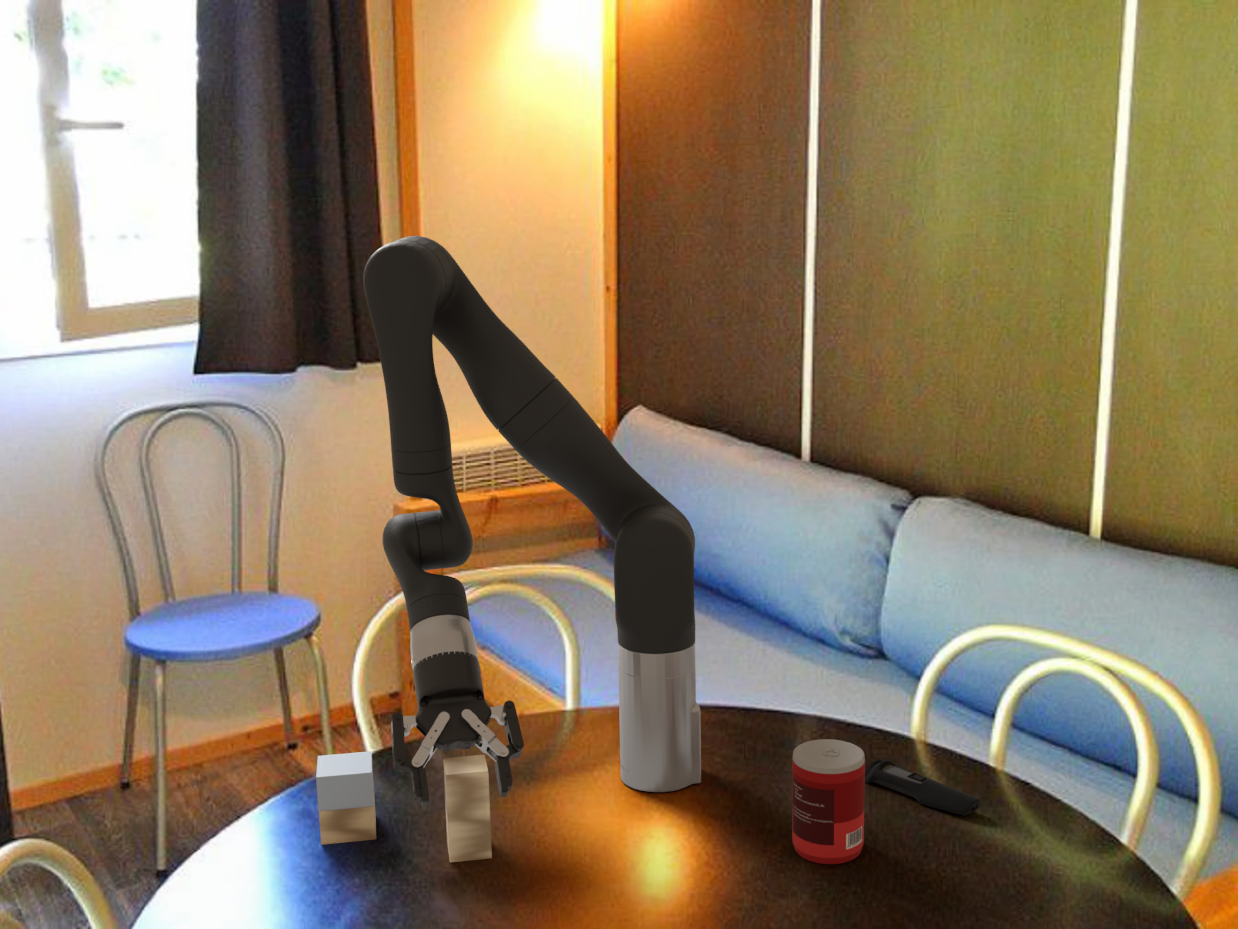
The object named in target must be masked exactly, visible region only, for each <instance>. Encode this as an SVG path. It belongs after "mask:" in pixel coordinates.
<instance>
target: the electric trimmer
mask: <svg viewBox="0 0 1238 929" xmlns="http://www.w3.org/2000/svg"><path fill="white" fill-rule="evenodd" d="M873 783H874V784H877V785H879V786H882V787H885V788H888V789H891V790H893V791H896V792H898V793H901V794H904V795H906V796H908V797H912V798H915V799H916V801H917V803H918V804H921V805H923V806H927V807H930V808H934V809H938V810H942V811H946V812H949V813H953V814H956V815H961V816H965V817H966V816H967V815H970V814H973V813H974V812H976V811H977V810H978V809H979V807H980V804H981V803H980V802H981V801H980V798H978V797H975V796H973V795H971V794H968V793H965V792H964V791H960V790H958V789H957V788H953V787H951V786H948V785H946V784H943V783H941V782H939V781H937V780H934V779H932V778H929V777H926V776H924V775H921V774H919V773H916V772H914V771H912V770H911V771H910V770H909V769H906V768H903V767H901V766H899V765H897V764H894V763H893V762H892V761H891V760H890V759H889V760H888V759H884V760H882V759H881V758H879V759H877V760H874V761H872V763H871V764H869V766H868V767H867V769H865V784H867V785H868V784H873Z"/></svg>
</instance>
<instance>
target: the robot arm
mask: <svg viewBox="0 0 1238 929" xmlns="http://www.w3.org/2000/svg"><path fill="white" fill-rule="evenodd" d="M365 264H366V265H365V267H364V268H363V277H362V281H363V290H364V294H365V295H364V296H365V300H366V304H367V308H368V309H367V310H368V312H369V317H370V319H371V320H370V321H371V324H372V328H373V332H374V335H375V340H376V344H377V349H378V354H379V360H380V365H381V371H382V375H383V380H384V382H383V383H384V387H385V395H386V396H385V397H386V402H387V412H388V423H389V437H390V451H391V462H392V474H393V475H392V476H393V483H394V487H395V490H396V491H397V492H398V493H399V494H401V495H402V496H406V497H410V498H416V499H417V498H418V499H425V500H430V501H432V502H434V503H436V504H437V506H439V508H440V509H438V510H430V511H429V510H428V511H420V512H410V513H400V514H396V515H395V516H394V515H393V516H392V517H391V518H390V519H388V521H387V522H386V524H385V526H384V529H383V532H382V546H383V550H384V553H385V556H386V558H387V561H388V563H389V564H390V567H391V569H392V571H393V573H394V575H395V576H396V577H395V578H396V579H397V581H398V584H399V585H400V589H401V591H402V594H403V597H404V601H405V605H406V612H407V620H408V624H409V625H408V626H409V634H410V641H409V642H410V645H409V646H410V648H409V649H410V659H411V660H410V661H411V662H410V666H411V669H412V673H413V674H412V675H413V682H414V689H415V696H416V705H417V712H416V715H403V714H402V713H401V712H394V713H393V714H392V717H391V724H390V729H391V732H390V733H391V734H390V735H391V748H392V751H391V752H392V766H393V767H392V768H393V770H394V771H395V772H397V773H401V772H405V773H408V774H409V775H410V776H411V782H412V790H413V791H412V792H413V797H414V800H415V802H416V803H420V805H421V807H422V808H423V807H429V805H430V804H429V803H430V795H429V794H430V792H429V786H428V779H427V778H428V777H427V772H426V765H427V763H428V762H429V761H430V760H431V758H433V755H434V753H435V752H436V751H437V749H438V750H441V751H442V753H444V752H451V751H453V750H456V749H459V750H469V749H472V747H474V746H475V747H476V748H478V749H479V750H480V751H481V752H482V753H483V754H485V755H487V756H489V758H490V759H491V760H493V761H494V762H495V765H494V770H495V771H494V772H495V777H496V783H497V784H496V785H497V789H498V794H499V796H498V797H499V798H504V797H506V798H507V795H508V793H509V792H510V791H511V789H512V785H513V777H512V769H511V763H510V761H511V760H513V759H518V758H521V755H522V753H523V749H524V747H525V742H524V738H523V733H522V729H521V725H520V721H519V718H518V714H517V708H516V705H515V702H514V701H512V700H511V699H510V700H506V701H505V702H504V703H503V704H502V705H501V704H500V705H495V706H490V705H489V704H488V703H487V701H486V698H485V693H484V686H483V680H482V674H481V673H482V671H481V667H480V662H479V655H478V654H479V653H478V648H477V642H476V637H475V635H474V631H473V629H472V624H471V620H470V619H471V618H470V612H469V605H468V600H467V598H468V597H467V593H466V589H465V587H464V585H463V583H462V582H461V581H460V580H459V579H457V578H456V577H453V576H449V575H445V574H444V575H443V574H437V573H431V572H428V571H431V570H441V569H449V568H457V567H461V566H462V565H464V564H465V563H466V562H467V561H468V560H469V558H470V555H471V554H472V551H473V546H474V545H473V544H474V543H473V542H474V540H473V534H472V532H471V528H470V525H469V523H468V520H467V518H466V515H465V513H464V510H463V507H462V505H461V502H460V499H459V495H458V492H457V489H456V488H457V487H456V484H455V477H454V469H453V454H452V442H451V440H452V438H451V430H450V423H449V417H448V414H447V409H446V405H445V402H444V398H443V395H442V392H441V388H440V384H439V381H438V378H437V373H436V369H435V368H436V367H435V360H434V350H433V347H434V346H433V337H435V338H436V339H437V340H438V341H439V343H441V344H442V346H443V347H444V348H445V349H446V350H447V351H448V352H449V354H450V355H451V357H452V358H453V359H454V360H455V362H456V363H457V365H458V366H459V368H460V370H461V373H462V375H463V376H464V379H465V380H466V383H467V384H468V386H469V388H470V391H471V392H472V394H473V397H474V399H475V400H476V402H477V404H478V405H479V408H480V410H481V411H482V412H483V414H484V415H485V417H486V418H487V420H489V422H490V423H491V425H492V426H493V427H494V428H495V430H498V431H497V432H498V433H499V434H500V435H501V437H503V438H504V439H505V441H507V442H508V443H509V445H510V446H511V447H512V448H513V450H515V451H516V453H517V454H518V455H520V456H521V458H522V459H524V460H525V461H526V462H527V463H528V464H529V465H530V466H532V467H533V468H534V469H535V470H537V471H539V472H540V473H541V474H543V475H544V476H545V477H547V479H549V480H551V481H552V482H554V483H556V484H557V485H559V486H560V487H561V488H563V489H564V490H566V491H567V492H569V493H570V494H572V495H573V496H574V497H576V499H578V500H579V501H580V502H581V503H582V504H583V505H584V506H585V507H586V508H587V509H588V510H589V511H590V512H591V514H592V515H593V516H594V517H595V519H596V520H597V521H598V522H599V523H600V524H601V526H602V528H604V530H605V531H606V532H607V534H608V535H609V537H610V538H611V539H612V540H613V543H614V550H613V582H614V583H613V587H614V614H615V624H616V629H617V630H616V631H617V657H618V658H617V659H618V660H617V664H618V666H617V667H618V669H617V671H618V710H619V711H618V714H619V715H618V716H619V717H618V718H619V756H620V757H619V766H620V779H621V782H623V784H625V785H626V786H627V787H630V788H632V789H635V790H638V791H644V792H648V793H649V792H652V793H667V792H674V791H678V790H681V789H684V788H686V787H688V786H690V785H693V784H701V783H702V756H701V755H702V754H701V753H702V750H701V748H702V746H701V745H702V742H701V738H702V735H701V734H702V733H701V723H702V722H701V706H699V704H698V703H697V694H696V693H697V689H696V686H697V685H696V681H697V680H696V677H697V676H696V674H697V673H696V672H697V671H696V617H695V616H696V615H695V614H696V613H695V612H696V611H695V549H696V537H695V534H694V528H692V527H693V526H692V524H691V523H690V521H689V520H688V518H687V517H686V515H684V514H683V512H682V511H680V509H678V507H676V506H675V505H674V504H672V502H670V501H669V500H668V499H667V498H665V497H664V495H662V494H661V493H660V492H659V491H658V490H657V489H655V487H653V486H652V485H651V484H650V483H649V482H648V481H647V480H646V479H645V478H644V477H643V476H641V475H640V474H639V473H638V472H637V471H636V470H635V469H634V468H633V467H632V466H631V465H630V464H629V463H628V462H627V460H626V459H624V456H622V455H621V453H620V452H619V451H618V449H617V448H616V447H615V446H614V444H613V443H612V441H611V440H610V439H609V438H608V437H607V435H606V434H605V433H604V432H603V431H602V429H601V428H600V427H599V425H598V424H597V423H596V422H595V420H594V419H593V418H592V417H591V415H589V413H588V412H587V411H586V410H585V408H584V407H583V406H582V405H581V404H580V402H579V401H578V400H577V399H576V397H575V396H574V395H573V394H572V393H571V392H570V391H569V389H567V388H566V387H565V385H564V384H563V383H562V382H561V381H560V380H559V379H558V378H557V377H556V375H554V374H553V372H551V371H550V369H548V368H547V367H546V366H545V365H544V364H543V362H541V360H540V359H539V358H538V357H537V356H536V355H535V354H534V353H533V352H532V351H531V350H530V349H529V348H528V346H527V345H526V343H524V342H523V341H522V340H521V339H520V338H519V337H518V336H517V335H516V334H515V333H514V332H513V331H512V330H511V329H510V328H509V327H508V326H507V325H506V324H505V323H504V322H503V321H502V320H501V319H500V318H499V317H498V316H497V314H496V313H495V312H494V311H493V309H492V308H491V307H490V306H489V304H488V303H487V302H486V301H485V299H484V298H483V297H482V295H481V294H480V293H479V291H478V290H477V288H476V287H475V286H474V284H472V282H471V280H470V279H469V277H468V276H467V275H466V274H465V272H464V270H463V269H462V268H461V267H460V266H459V264H458V263H457V261H456V260H455V259H454V257H453V255H451V254H450V252H449V251H448V250H447V249H446V248H445V247H444V246H443V245H442V244H440V243H439V242H438V241H435V240H434V239H431V238H429V237H425V236H420V235H409V236H405V237H402V238H399V239H397V240H394V241H392V242H391V241H390V242H389V243H386V244H384V245H383V246H381V247H380V248H377V250H375V251H374V252H373V253H372V255H371V256H370V257H369V258H368V260H367V262H366V263H365ZM491 719H495V720H496V721H497V724H498V725H500V726H504V727H503V728H504V731H505V734H506V735H505V736H506V739H507V743H508V744H507V745H505V744H504V743H502V742H501V741H500V739H498V738H497V736H496V734H495V733H494V731H492V730H491V729H490V728H489V727H488V724H489V722H490V721H491ZM413 728H416V729H417V730H418V731H419V733H421V734H422V735H423V736H424V739H423V741H422V742H421V745H420V746H419V748H418V750H417V751H416V753H415V754H414V756H408V755H406V743H405V742H406V741H405V738H406V737H408V736H410V733H411V730H412V729H413Z"/></svg>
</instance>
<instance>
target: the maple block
mask: <svg viewBox="0 0 1238 929" xmlns="http://www.w3.org/2000/svg"><path fill="white" fill-rule="evenodd" d="M442 761H443V763H442V764H443V781H444V782H443V783H444V801H445V802H444V803H445V804H444V805H445V825H446V845H447V852H448V857H449V858H448V859H449V863H456V862H457V863H458V862H466V861H469V862H470V861H478V860H486V859H487V860H488V859H493V852H492V830H491V829H492V828H491V806H490V805H491V804H490V780H489V778H490V777H489V768H488V764H487V760H486V754H485V753H483V754H474V755H466V756H465V755H464V756H453V757H443V759H442Z"/></svg>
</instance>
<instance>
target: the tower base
mask: <svg viewBox="0 0 1238 929" xmlns="http://www.w3.org/2000/svg"><path fill="white" fill-rule="evenodd" d="M373 790H374V791H375V784H374V783H373ZM375 798H376V797H375V795H374V806H372V807H361V808H350V809H339V810H329V811H318V817H319V832H320V845H322V846H323V845H331V844H333V845H334V844H341V843H350V842H352V843H353V842H363V841H372V840H377V819H376V818H377V816H376V814H377V813H376V800H375Z"/></svg>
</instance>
